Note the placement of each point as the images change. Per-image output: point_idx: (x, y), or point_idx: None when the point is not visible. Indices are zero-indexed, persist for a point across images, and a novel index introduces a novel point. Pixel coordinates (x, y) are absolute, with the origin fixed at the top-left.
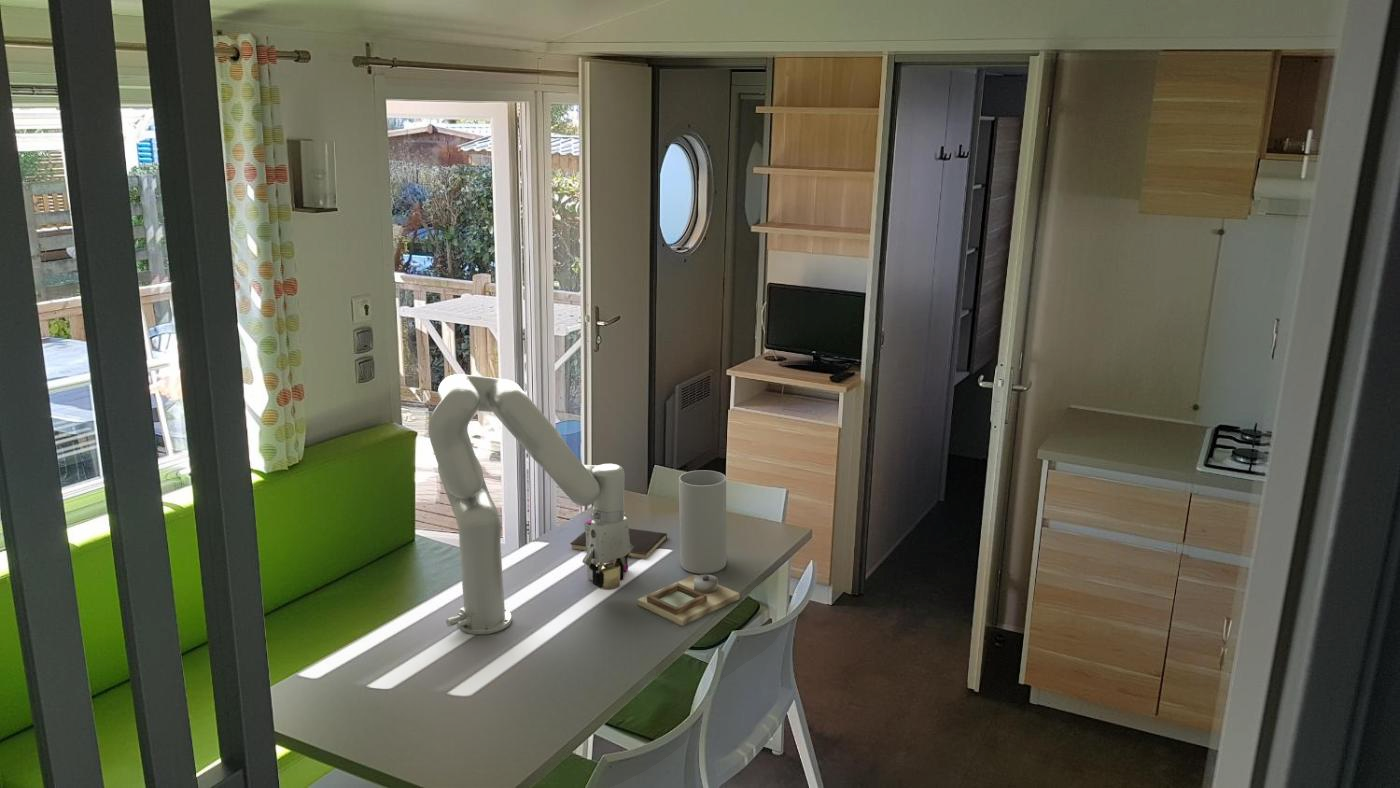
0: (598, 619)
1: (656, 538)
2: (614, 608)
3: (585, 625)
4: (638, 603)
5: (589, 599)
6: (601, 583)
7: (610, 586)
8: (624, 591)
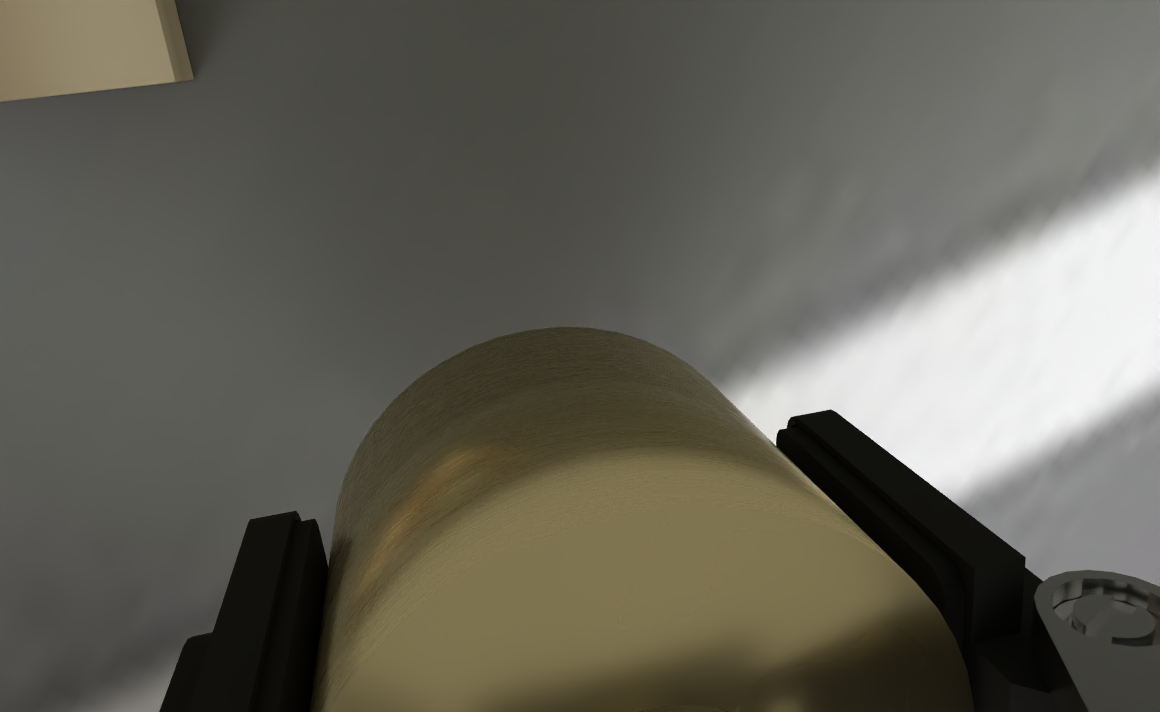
0: (882, 53)
1: None
2: (550, 197)
3: (1075, 20)
4: (184, 54)
5: None
6: (856, 437)
7: (657, 361)
8: (158, 565)
